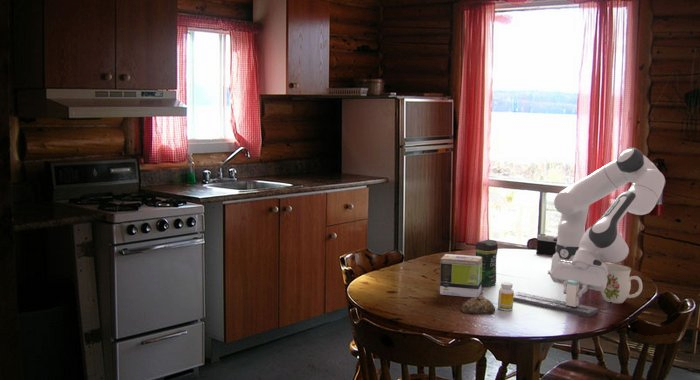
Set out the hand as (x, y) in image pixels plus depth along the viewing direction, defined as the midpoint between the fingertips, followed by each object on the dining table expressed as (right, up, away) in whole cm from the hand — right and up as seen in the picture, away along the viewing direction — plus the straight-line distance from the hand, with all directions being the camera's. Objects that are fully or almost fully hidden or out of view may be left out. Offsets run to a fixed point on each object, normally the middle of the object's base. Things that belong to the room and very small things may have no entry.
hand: (571, 294), depth 266 cm
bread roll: (-34, -6, +1) cm, 35 cm away
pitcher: (+21, -5, +14) cm, 26 cm away
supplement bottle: (-24, -6, +1) cm, 25 cm away
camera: (+19, +6, +94) cm, 96 cm away
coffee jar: (-25, -1, +36) cm, 44 cm away
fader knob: (0, -4, +1) cm, 4 cm away
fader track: (-6, -5, +6) cm, 10 cm away
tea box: (-37, -3, +21) cm, 43 cm away
